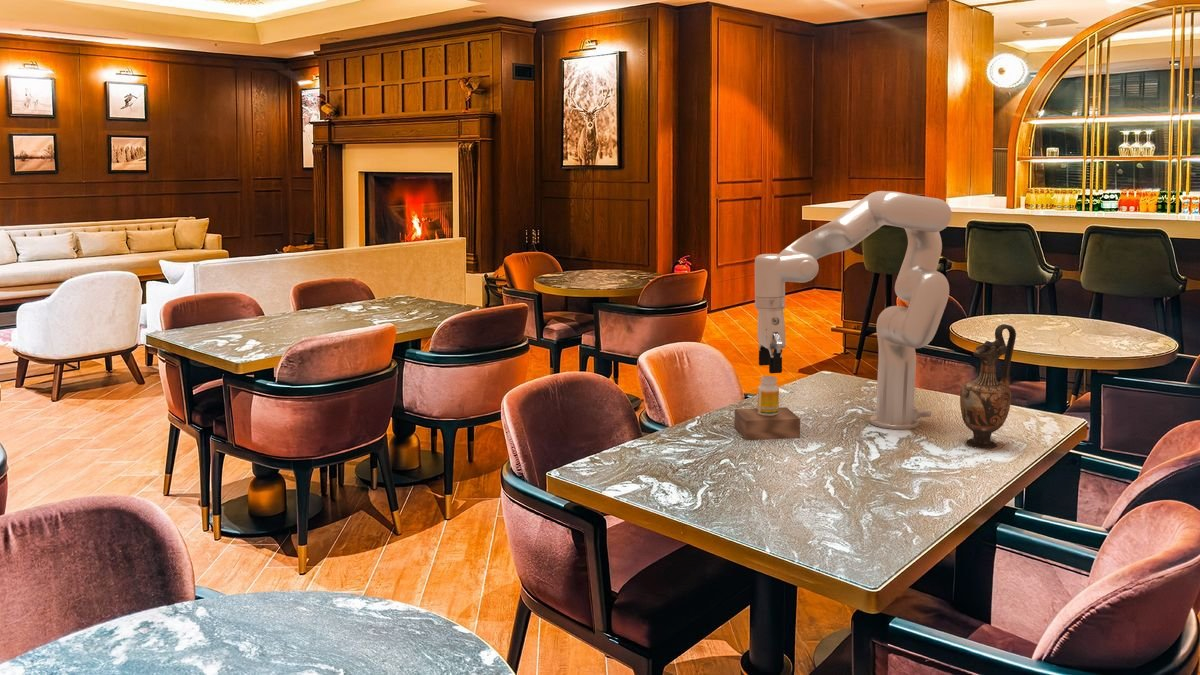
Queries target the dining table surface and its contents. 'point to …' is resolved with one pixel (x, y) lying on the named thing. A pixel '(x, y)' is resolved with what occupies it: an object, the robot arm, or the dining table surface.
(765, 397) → the supplement bottle
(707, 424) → the dining table surface
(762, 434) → the walnut plinth
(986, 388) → the vase
